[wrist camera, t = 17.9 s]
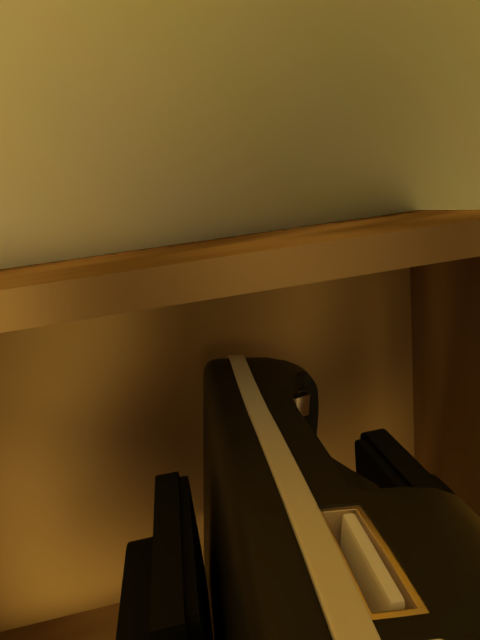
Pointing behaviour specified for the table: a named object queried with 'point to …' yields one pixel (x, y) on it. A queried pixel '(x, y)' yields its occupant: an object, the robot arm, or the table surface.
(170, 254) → the brown shallow rectangular box
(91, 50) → the table surface
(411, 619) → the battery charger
